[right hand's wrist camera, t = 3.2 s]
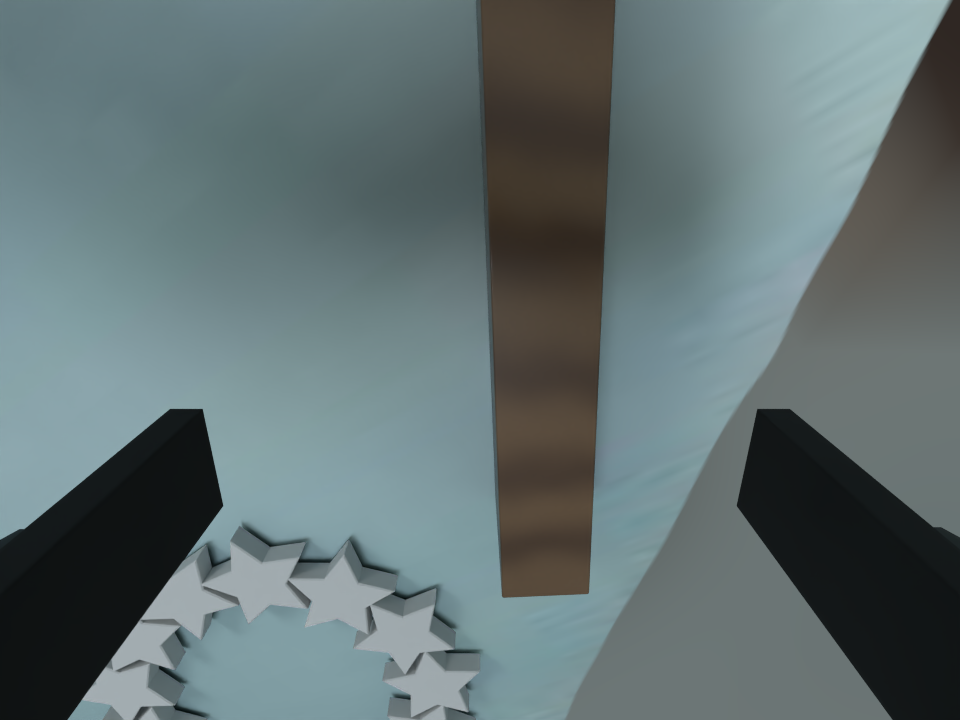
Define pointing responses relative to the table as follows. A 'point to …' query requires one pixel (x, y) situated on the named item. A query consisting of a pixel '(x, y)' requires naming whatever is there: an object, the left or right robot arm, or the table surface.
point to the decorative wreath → (335, 595)
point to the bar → (545, 275)
